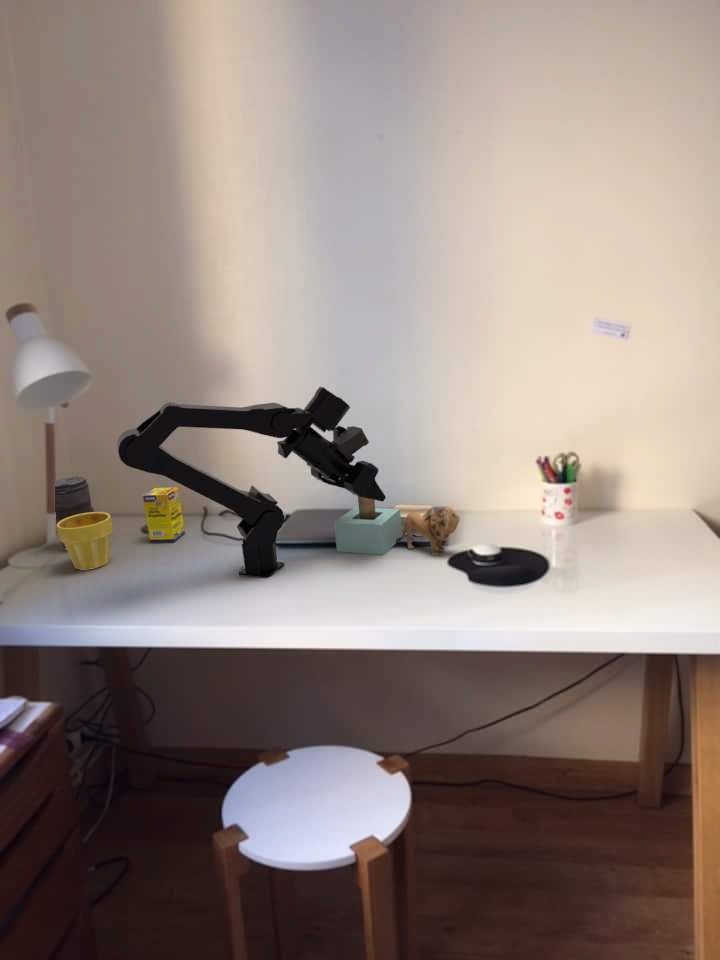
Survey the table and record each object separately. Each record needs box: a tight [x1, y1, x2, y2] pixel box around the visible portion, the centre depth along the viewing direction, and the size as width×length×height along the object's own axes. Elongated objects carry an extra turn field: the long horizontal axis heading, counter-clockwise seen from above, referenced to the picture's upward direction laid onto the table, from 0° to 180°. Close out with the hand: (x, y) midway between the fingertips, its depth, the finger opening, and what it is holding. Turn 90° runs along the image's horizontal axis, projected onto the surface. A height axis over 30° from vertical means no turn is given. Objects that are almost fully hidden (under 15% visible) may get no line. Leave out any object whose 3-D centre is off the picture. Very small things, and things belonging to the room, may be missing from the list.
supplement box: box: [142, 487, 186, 544], centre depth 162 cm, size 6×6×11 cm
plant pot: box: [56, 511, 114, 570], centre depth 150 cm, size 10×10×10 cm
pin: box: [357, 496, 376, 520], centre depth 146 cm, size 3×3×8 cm
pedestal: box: [392, 504, 435, 534], centre depth 154 cm, size 8×8×4 cm
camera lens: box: [54, 476, 95, 548], centre depth 162 cm, size 8×8×15 cm
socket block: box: [333, 506, 402, 556], centre depth 147 cm, size 10×10×6 cm
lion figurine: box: [396, 506, 461, 557], centre depth 141 cm, size 15×5×9 cm, turn 50°
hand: (372, 494), depth 146 cm, fingers open, 9 cm apart
